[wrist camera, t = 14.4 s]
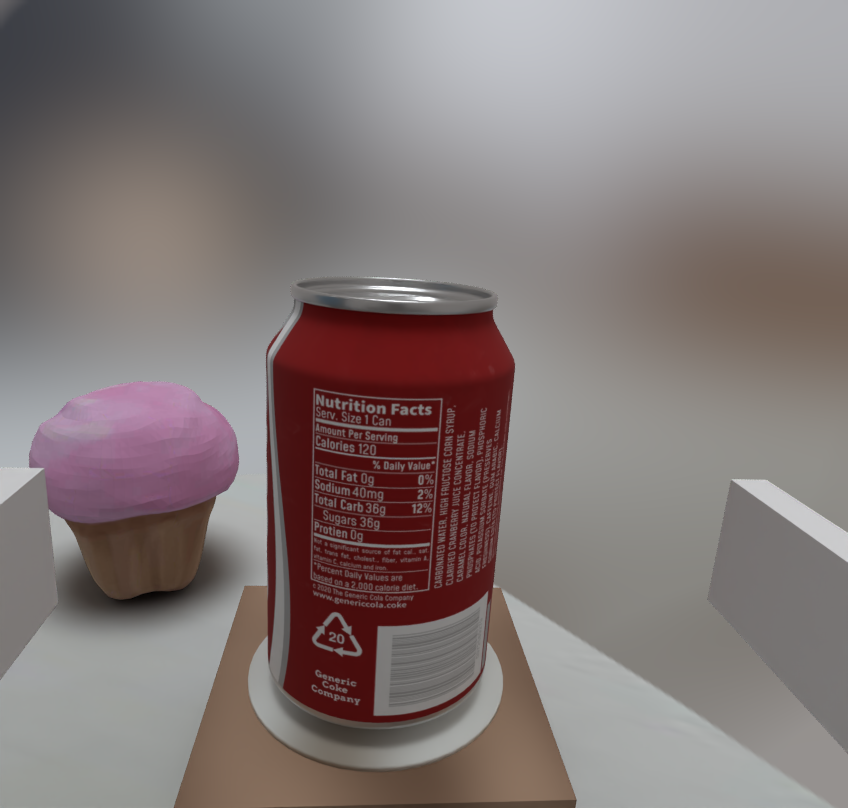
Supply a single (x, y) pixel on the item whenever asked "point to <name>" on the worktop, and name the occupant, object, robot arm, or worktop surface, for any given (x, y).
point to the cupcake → (137, 481)
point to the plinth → (372, 739)
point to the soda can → (383, 496)
